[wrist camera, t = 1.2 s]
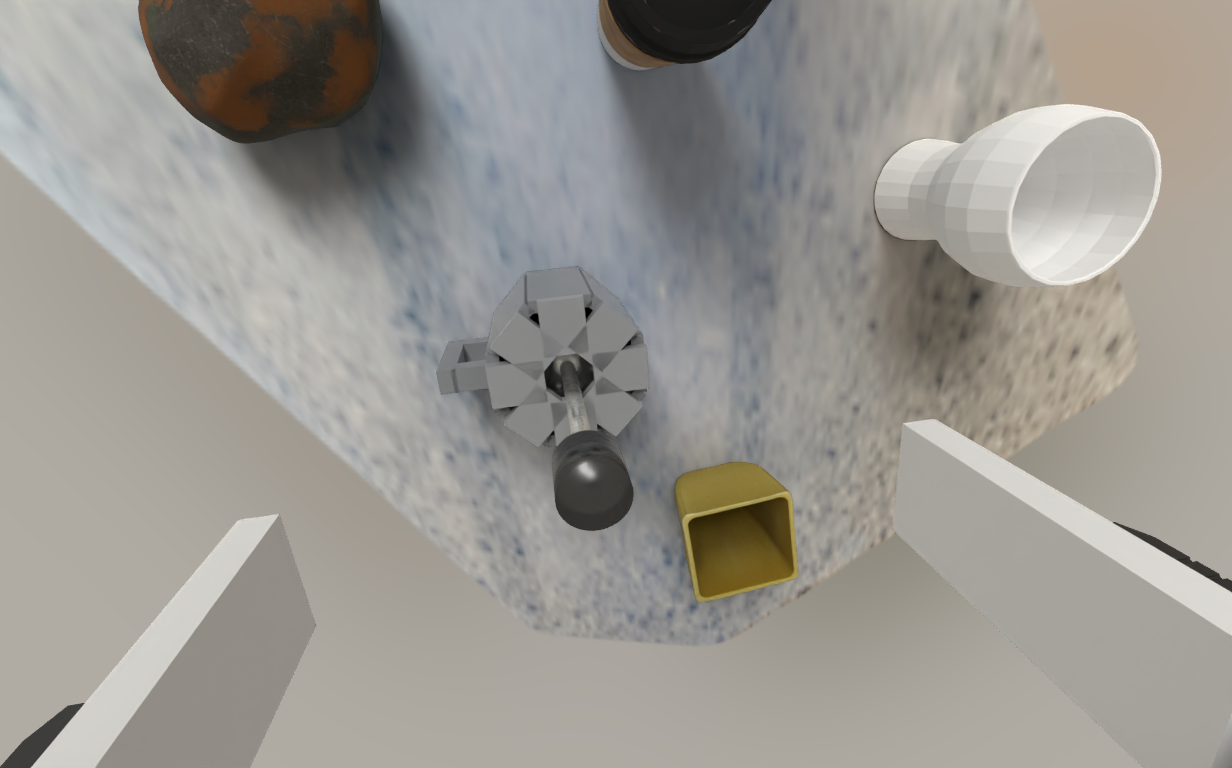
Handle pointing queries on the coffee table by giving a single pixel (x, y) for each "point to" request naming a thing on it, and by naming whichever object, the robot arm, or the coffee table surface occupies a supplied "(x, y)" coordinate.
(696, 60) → the coffee cup
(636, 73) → the coffee table surface
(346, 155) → the coffee table surface
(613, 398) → the press carafe
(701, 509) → the flower pot
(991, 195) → the cup
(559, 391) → the plunger
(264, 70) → the rock
